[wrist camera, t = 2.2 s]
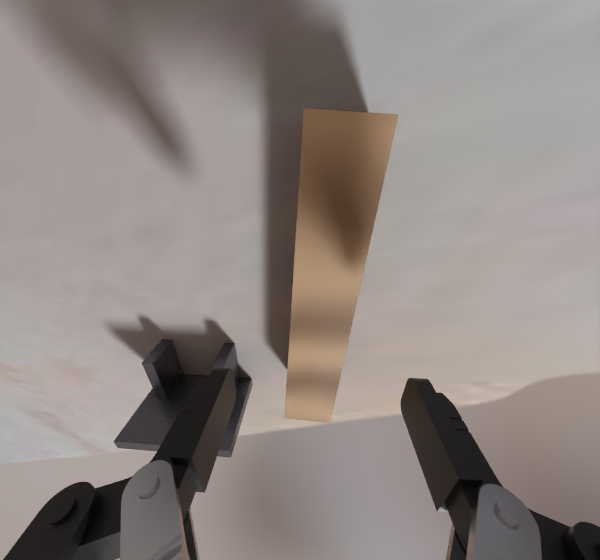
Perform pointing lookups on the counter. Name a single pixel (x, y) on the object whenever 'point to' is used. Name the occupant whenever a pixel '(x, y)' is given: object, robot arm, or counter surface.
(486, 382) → the counter surface
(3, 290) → the counter surface
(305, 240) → the rail
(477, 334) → the counter surface
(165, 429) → the cup bracket
